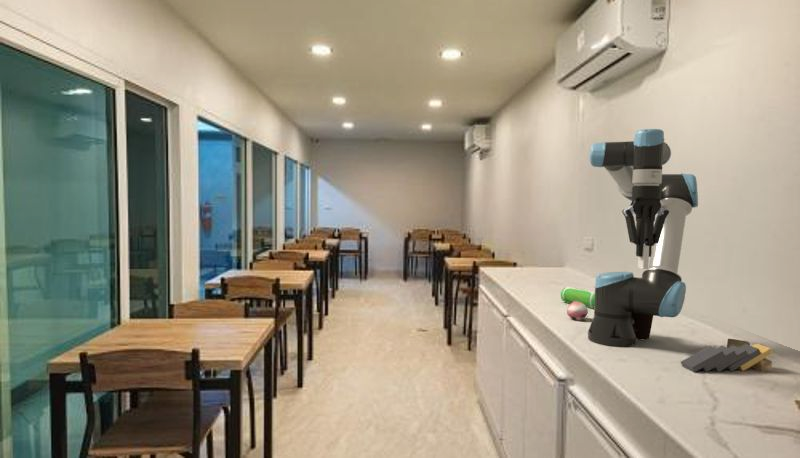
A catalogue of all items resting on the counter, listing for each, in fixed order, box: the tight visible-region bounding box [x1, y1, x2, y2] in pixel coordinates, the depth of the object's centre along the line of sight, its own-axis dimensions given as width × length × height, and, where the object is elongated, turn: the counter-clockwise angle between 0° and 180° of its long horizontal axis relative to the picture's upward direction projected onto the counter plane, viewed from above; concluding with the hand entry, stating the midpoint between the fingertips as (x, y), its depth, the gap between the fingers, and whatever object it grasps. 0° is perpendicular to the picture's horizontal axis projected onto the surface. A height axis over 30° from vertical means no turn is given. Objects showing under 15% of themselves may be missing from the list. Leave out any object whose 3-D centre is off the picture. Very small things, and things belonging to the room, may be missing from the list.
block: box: [750, 358, 773, 373], centre depth 150 cm, size 3×6×3 cm, turn 6°
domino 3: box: [712, 345, 748, 372], centre depth 149 cm, size 2×5×10 cm
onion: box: [566, 301, 589, 321], centre depth 207 cm, size 8×8×7 cm
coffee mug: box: [631, 312, 654, 341], centre depth 183 cm, size 12×9×10 cm
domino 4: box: [724, 344, 761, 372], centre depth 150 cm, size 2×5×10 cm
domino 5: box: [736, 343, 773, 372], centre depth 150 cm, size 2×5×10 cm
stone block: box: [726, 338, 751, 348], centre depth 159 cm, size 6×12×5 cm, turn 152°
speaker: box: [560, 286, 595, 309], centre depth 233 cm, size 18×7×8 cm, turn 36°
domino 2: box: [700, 345, 737, 373], centre depth 149 cm, size 2×5×10 cm
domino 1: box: [680, 345, 725, 373], centre depth 148 cm, size 2×5×10 cm
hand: (643, 268), depth 149 cm, fingers closed
